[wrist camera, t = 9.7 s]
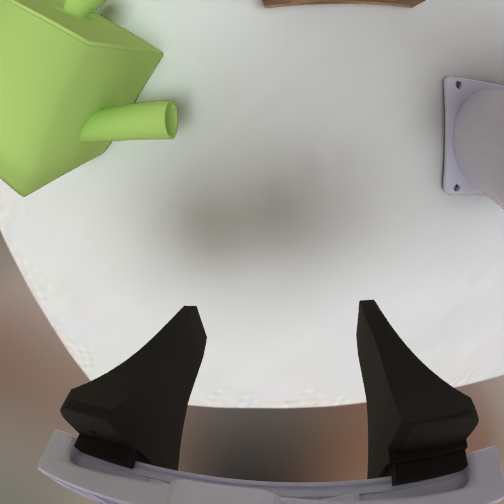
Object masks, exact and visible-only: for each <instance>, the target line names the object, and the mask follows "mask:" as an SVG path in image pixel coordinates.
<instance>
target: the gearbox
mask: <svg viewBox="0 0 504 504" xmlns="http://www.w3.org/2000/svg"><path fill="white" fill-rule="evenodd" d="M105 1H106V0H0V178H1V179H2V180H3V181H4V182H5V183H6V184H8V185H9V186H10V187H11V188H12V189H13V190H15V191H16V192H17V193H18V194H20V195H21V196H23V197H25V196H27V195H29V194H31V193H32V192H34V191H36V190H38V189H39V188H41V187H43V186H44V185H46V184H48V183H50V182H51V181H53V180H55V179H57V178H58V177H60V176H62V175H64V174H66V173H67V172H69V171H71V170H73V169H75V168H77V167H78V166H80V165H82V164H84V163H86V162H88V161H90V160H91V159H93V158H95V157H97V156H99V155H101V154H102V153H104V152H105V150H106V149H107V147H108V146H109V144H110V143H111V141H119V140H145V139H173V138H174V137H175V135H176V132H177V127H178V113H177V107H176V104H175V102H174V101H173V100H163V101H153V102H143V103H135V104H134V102H135V101H136V99H137V97H138V95H139V94H140V92H141V90H142V89H143V87H144V85H145V84H146V82H147V80H148V79H149V77H150V75H151V74H152V72H153V71H154V69H155V67H156V66H157V64H158V63H159V61H160V59H161V58H162V56H163V53H162V52H161V51H159V50H158V49H156V48H155V47H153V46H152V45H150V44H149V43H147V42H145V41H144V40H142V39H141V38H139V37H137V36H136V35H134V34H132V33H131V32H129V31H127V30H126V29H124V28H122V27H120V26H119V25H117V24H115V23H114V22H112V21H110V20H108V19H106V18H105V17H103V16H101V15H99V14H97V13H95V12H94V11H95V10H96V9H97V8H99V7H100V6H101V5H102V4H103V3H104V2H105Z"/></svg>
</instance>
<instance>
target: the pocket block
mask: <svg viewBox="0 0 504 504" xmlns="http://www.w3.org/2000/svg"><path fill="white" fill-rule="evenodd" d="M262 1H263V3H264V5H265V7H266V8H271V7H280V6H290V5H303V4H325V3H358V4H380V5H393V6H403V7H414V6H416V5H418V4H420V3H421V2H423V1H425V0H262Z"/></svg>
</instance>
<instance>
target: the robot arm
mask: <svg viewBox="0 0 504 504" xmlns="http://www.w3.org/2000/svg"><path fill="white" fill-rule="evenodd" d="M457 81H458V82H459V84H460V86H459V88H457V87H456V82H457ZM444 99H445V158H444V176H443V190H444V191H445V192H446V193H447V194H450V195H487V196H489V197H490V198H491V199H492V200H494V201H495V202H496V203H497V204H498V205H499V206H501V207H502V208H503V209H504V85H500V84H495V83H490V82H485V81H479V80H473V79H467V78H460V77H453V76H447V77H446V78H445V79H444ZM456 184H458V187H457V188H456V189H455V190H454V186H455V185H456ZM356 335H357V347H358V356H359V362H360V367H361V372H362V377H363V383H364V388H365V394H366V400H367V412H368V478H367V479H366V480H355V481H342V482H318V483H285V482H262V481H261V482H260V481H247V480H236V479H228V478H219V477H212V476H205V475H198V474H193V473H187V472H182V471H178V464H179V452H180V445H181V438H182V431H183V425H184V419H185V415H186V409H187V405H188V401H189V398H190V394H191V391H192V388H193V385H194V383H195V380H196V377H197V374H198V371H199V368H200V365H201V362H202V359H203V355H204V351H205V345H206V340H207V336H206V333H205V330H204V327H203V324H202V321H201V318H200V315H199V312H198V309H197V306H184V307H183V308H182V309H181V310H180V311H179V312H178V313H177V314H176V315H175V316H174V317H173V318H172V319H171V320H170V321H169V322H168V323H167V324H166V325H165V326H164V327H163V328H162V329H161V330H160V331H159V332H158V333H157V334H156V335H155V336H154V337H153V338H152V339H151V340H150V341H149V342H148V343H147V344H146V345H144V346H143V347H142V348H141V349H140V350H139V351H138V352H136V353H135V354H134V355H133V356H131V357H130V358H129V359H127V360H126V361H125V362H123V363H122V364H120V365H118V366H117V367H115V368H114V369H112V370H111V371H109V372H108V373H106V374H104V375H102V376H100V377H98V378H97V379H95V380H93V381H90V382H88V383H86V384H84V385H81V386H79V387H76V388H74V389H71V391H70V393H69V394H68V396H67V398H66V400H65V402H64V403H63V405H62V407H61V409H60V411H61V414H62V416H63V417H64V418H65V420H66V421H67V422H68V423H69V424H70V425H71V426H72V427H73V428H74V429H75V430H76V431H77V432H78V433H79V436H78V438H76V437H74V436H72V435H70V434H68V433H65V432H63V431H60V430H57V429H56V430H55V431H54V433H53V435H52V437H51V439H50V441H49V443H48V445H47V447H46V450H45V451H44V454H43V455H42V458H41V460H40V462H39V464H38V466H37V468H38V469H39V470H40V471H41V472H43V473H44V474H46V475H47V476H49V477H50V478H52V479H53V480H55V481H56V482H58V483H59V484H61V485H63V486H64V487H66V488H67V489H69V490H71V491H73V492H75V493H78V494H80V495H82V496H84V497H86V498H89V499H91V500H93V501H95V502H98V503H100V504H496V503H497V502H499V501H501V500H502V499H504V477H503V472H502V467H501V462H500V458H499V453H498V449H497V446H496V445H494V446H491V447H487V448H484V449H481V450H478V451H475V452H472V453H470V454H468V455H467V456H466V453H465V449H466V448H467V441H466V438H467V437H468V436H469V435H470V433H471V432H472V431H473V430H474V429H475V427H476V426H477V424H478V420H479V418H478V415H477V412H476V409H475V406H474V404H473V402H472V400H471V398H470V397H468V396H466V395H465V394H463V393H461V392H460V391H458V390H456V389H455V388H453V387H452V386H450V385H449V384H448V383H446V382H445V381H443V380H442V379H441V378H440V377H438V376H437V375H436V374H435V373H433V372H432V371H431V370H430V369H429V368H428V367H427V366H426V365H424V364H423V363H422V362H421V361H420V360H419V359H418V358H417V357H416V356H415V355H414V353H413V352H412V351H411V350H410V349H409V348H408V347H407V346H406V344H405V343H404V342H403V341H402V339H401V338H400V337H399V336H398V334H397V333H396V332H395V330H394V329H393V328H392V326H391V325H390V324H389V322H388V321H387V319H386V318H385V316H384V315H383V313H382V312H381V310H380V308H379V307H378V305H377V304H376V302H375V301H374V300H363V301H360V302H359V313H358V324H357V334H356Z"/></svg>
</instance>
